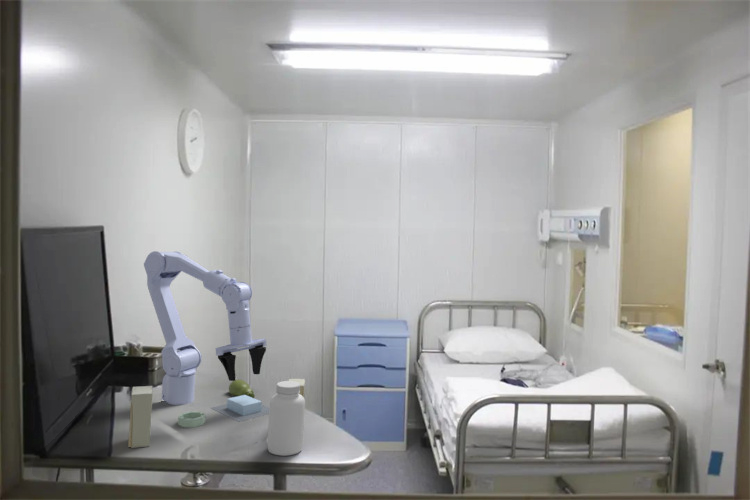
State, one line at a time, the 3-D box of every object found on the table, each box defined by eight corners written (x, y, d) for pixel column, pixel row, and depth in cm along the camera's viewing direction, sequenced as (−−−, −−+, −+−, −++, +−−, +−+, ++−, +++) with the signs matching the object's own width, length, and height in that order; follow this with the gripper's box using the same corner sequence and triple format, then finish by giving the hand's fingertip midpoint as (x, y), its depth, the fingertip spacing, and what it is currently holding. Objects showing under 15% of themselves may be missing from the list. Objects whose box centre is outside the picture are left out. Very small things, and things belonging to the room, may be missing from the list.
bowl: (174, 427, 121) (174, 415, 121) (196, 421, 125) (197, 409, 125) (186, 433, 117) (186, 421, 117) (208, 427, 121) (209, 415, 121)
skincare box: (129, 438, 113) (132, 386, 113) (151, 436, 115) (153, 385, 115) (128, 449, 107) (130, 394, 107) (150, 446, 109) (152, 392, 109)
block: (226, 408, 133) (227, 398, 133) (244, 403, 137) (244, 394, 137) (243, 415, 128) (243, 405, 128) (261, 411, 132) (261, 401, 132)
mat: (210, 412, 133) (210, 407, 133) (248, 403, 142) (248, 399, 142) (238, 426, 123) (239, 421, 123) (277, 415, 132) (277, 411, 132)
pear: (242, 375, 151) (260, 388, 144) (240, 391, 151) (257, 405, 144) (226, 378, 147) (243, 391, 140) (224, 395, 147) (241, 408, 140)
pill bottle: (295, 458, 106) (298, 390, 106) (261, 454, 108) (264, 386, 108) (307, 444, 114) (310, 380, 114) (275, 440, 115) (278, 377, 115)
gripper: (223, 331, 124) (228, 384, 123) (270, 322, 135) (275, 372, 134) (209, 331, 129) (214, 382, 128) (256, 323, 140) (260, 370, 139)
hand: (244, 377), depth 131 cm, fingers open, 7 cm apart
